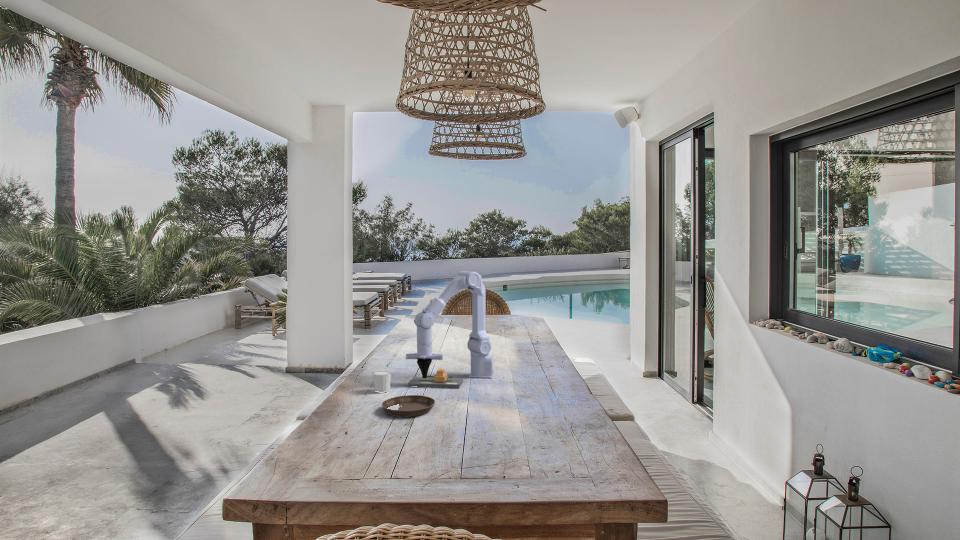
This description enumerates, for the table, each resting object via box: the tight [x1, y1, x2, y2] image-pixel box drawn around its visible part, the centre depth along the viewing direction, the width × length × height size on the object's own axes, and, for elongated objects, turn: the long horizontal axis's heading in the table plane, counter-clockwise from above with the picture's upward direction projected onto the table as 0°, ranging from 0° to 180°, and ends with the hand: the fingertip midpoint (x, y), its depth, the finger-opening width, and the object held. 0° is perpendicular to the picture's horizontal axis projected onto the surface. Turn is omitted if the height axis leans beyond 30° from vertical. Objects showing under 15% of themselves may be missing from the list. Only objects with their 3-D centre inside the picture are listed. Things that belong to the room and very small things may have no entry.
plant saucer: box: [381, 394, 436, 418], centre depth 196 cm, size 18×18×3 cm
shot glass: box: [372, 370, 392, 392], centre depth 220 cm, size 7×7×7 cm
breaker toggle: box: [433, 368, 448, 382], centre depth 229 cm, size 4×5×4 cm
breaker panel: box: [407, 376, 464, 390], centre depth 230 cm, size 20×10×2 cm, turn 82°
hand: (424, 377), depth 230 cm, fingers closed
